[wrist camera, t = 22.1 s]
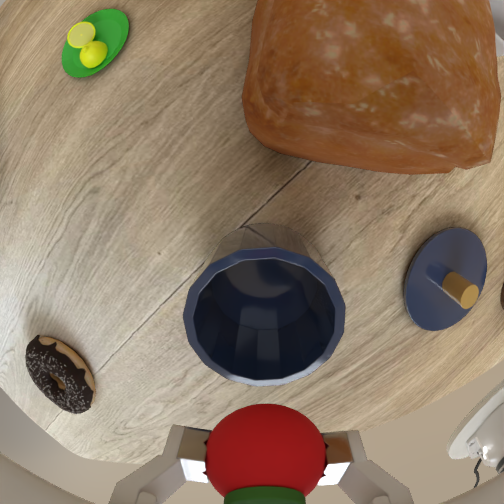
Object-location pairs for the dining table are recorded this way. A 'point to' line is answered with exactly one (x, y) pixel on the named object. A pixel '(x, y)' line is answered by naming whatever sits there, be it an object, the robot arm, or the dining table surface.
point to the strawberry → (265, 456)
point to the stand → (502, 297)
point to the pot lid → (445, 278)
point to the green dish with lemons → (94, 42)
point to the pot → (264, 307)
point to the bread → (375, 83)
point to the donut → (60, 374)
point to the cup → (498, 24)
